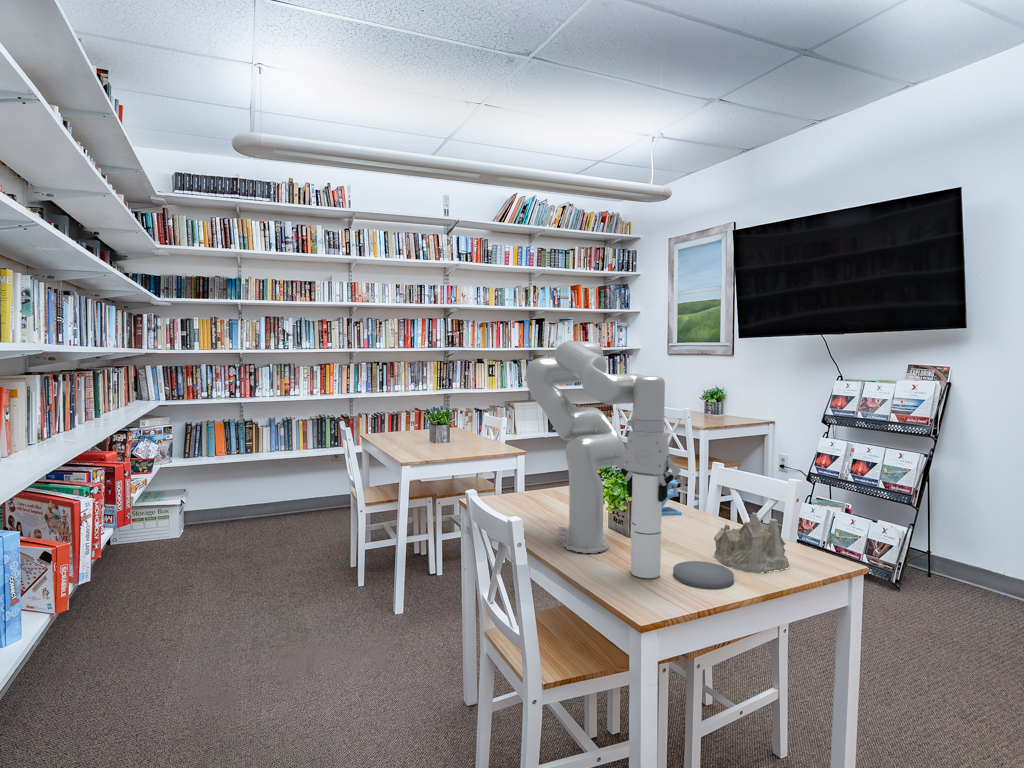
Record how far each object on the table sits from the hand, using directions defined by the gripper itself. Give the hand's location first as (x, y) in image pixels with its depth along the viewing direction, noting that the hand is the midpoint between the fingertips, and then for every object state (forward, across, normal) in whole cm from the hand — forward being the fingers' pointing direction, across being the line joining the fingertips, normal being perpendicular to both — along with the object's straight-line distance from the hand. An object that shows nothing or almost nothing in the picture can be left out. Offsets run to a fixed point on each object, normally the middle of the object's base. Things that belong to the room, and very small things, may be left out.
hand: (646, 497), depth 143 cm
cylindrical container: (+19, 0, 0) cm, 19 cm away
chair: (+20, -16, +57) cm, 62 cm away
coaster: (+19, +12, +6) cm, 23 cm away
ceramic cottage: (+19, +20, +24) cm, 36 cm away
